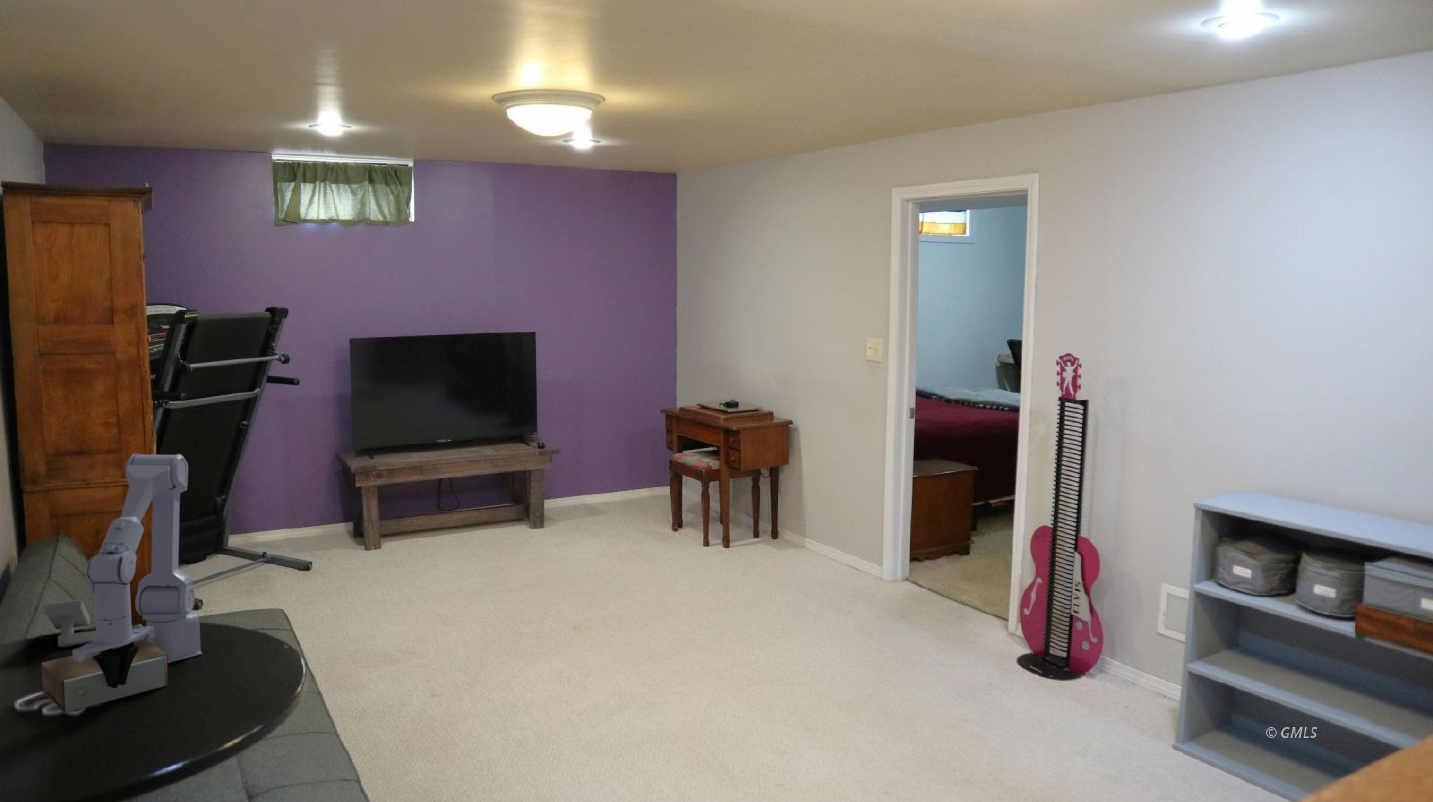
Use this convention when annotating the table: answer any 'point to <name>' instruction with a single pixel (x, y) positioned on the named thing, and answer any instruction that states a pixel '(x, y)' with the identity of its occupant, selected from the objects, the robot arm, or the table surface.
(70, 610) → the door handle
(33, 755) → the table surface
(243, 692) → the table surface
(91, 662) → the walnut cabinet
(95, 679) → the cabinet door
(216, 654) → the table surface
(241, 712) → the table surface
